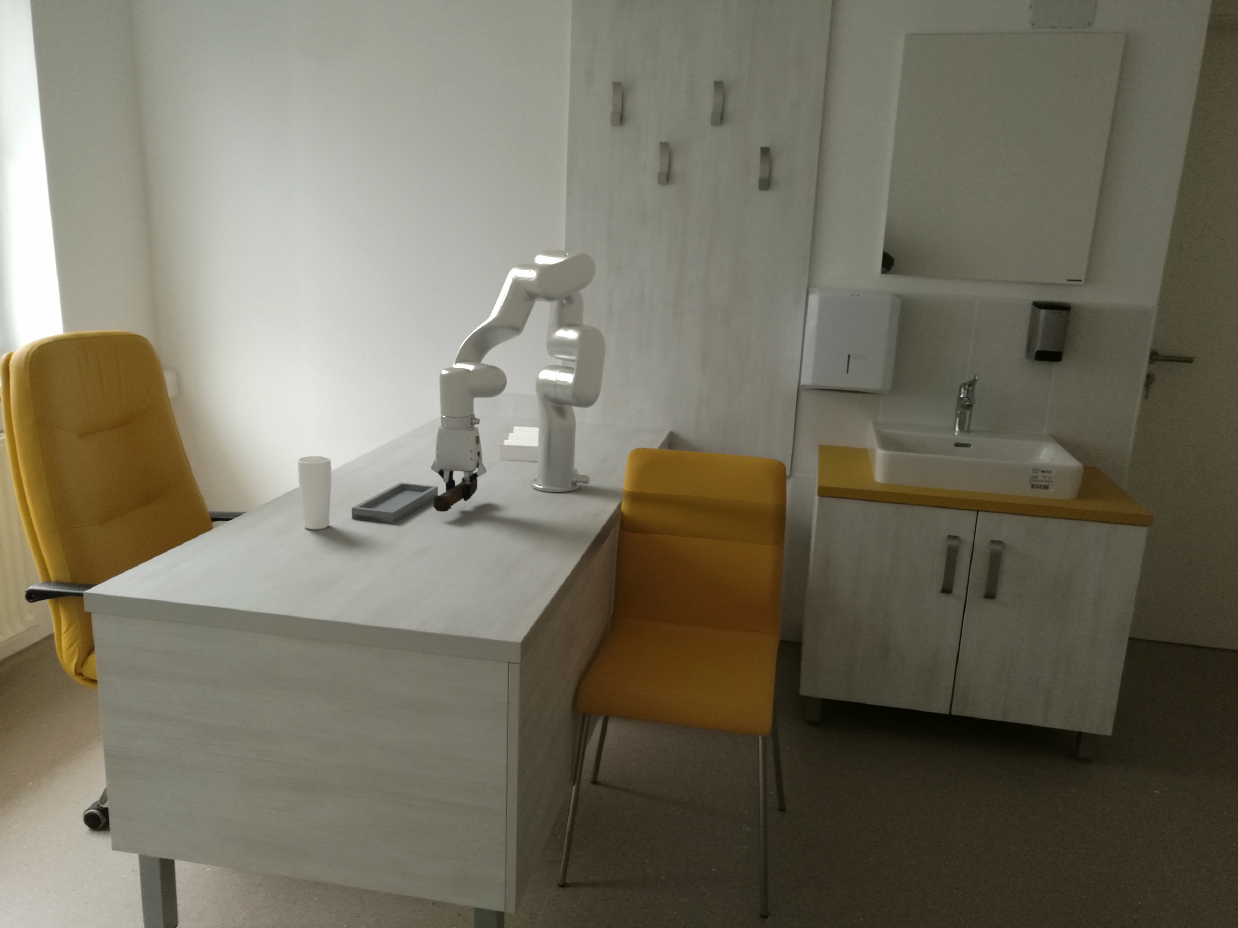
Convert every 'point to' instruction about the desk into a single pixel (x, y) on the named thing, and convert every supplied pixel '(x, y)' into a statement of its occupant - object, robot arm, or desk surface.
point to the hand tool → (451, 496)
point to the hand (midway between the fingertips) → (459, 497)
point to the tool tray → (394, 502)
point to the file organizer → (520, 445)
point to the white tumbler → (315, 490)
